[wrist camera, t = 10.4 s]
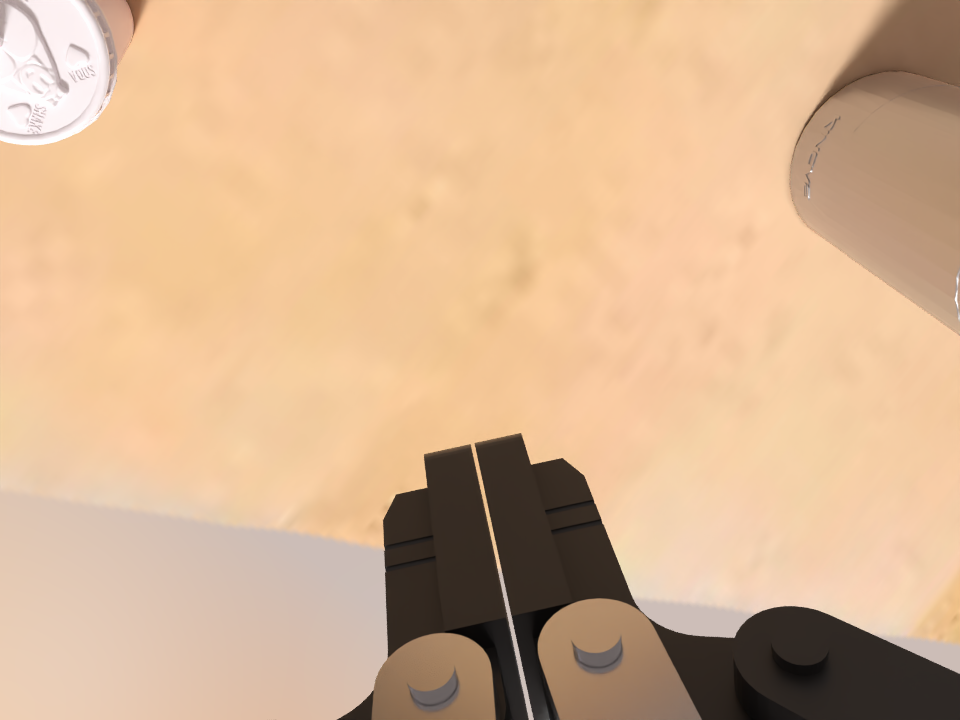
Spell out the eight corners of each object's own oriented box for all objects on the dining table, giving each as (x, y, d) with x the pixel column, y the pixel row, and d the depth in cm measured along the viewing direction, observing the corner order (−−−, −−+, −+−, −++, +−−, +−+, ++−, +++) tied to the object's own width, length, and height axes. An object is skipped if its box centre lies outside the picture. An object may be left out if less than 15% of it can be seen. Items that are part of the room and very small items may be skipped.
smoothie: (76, -99, 35) (-76, -102, 22) (197, 28, 37) (121, 86, 25) (-23, 9, 36) (-217, 63, 24) (101, 124, 39) (-16, 224, 27)
